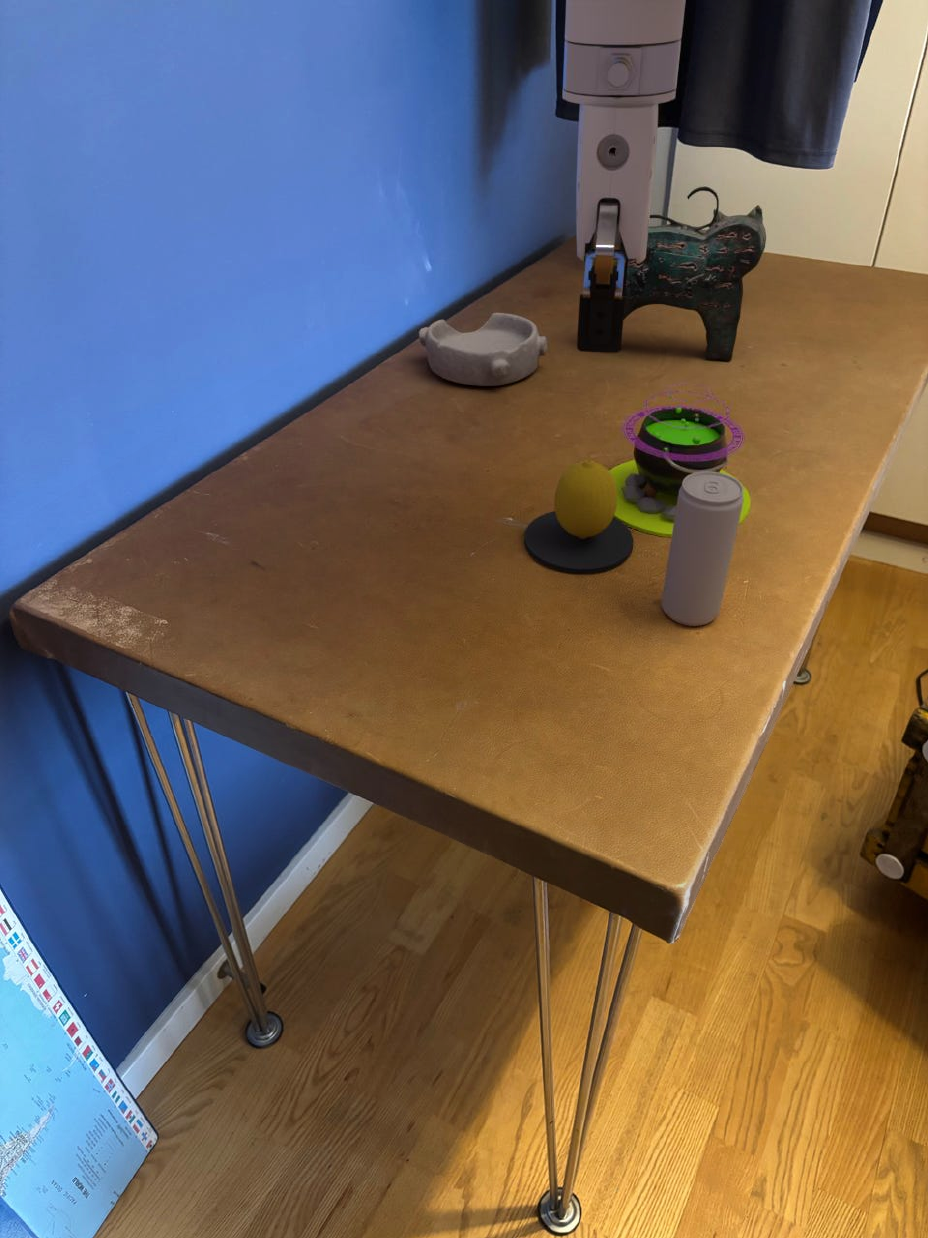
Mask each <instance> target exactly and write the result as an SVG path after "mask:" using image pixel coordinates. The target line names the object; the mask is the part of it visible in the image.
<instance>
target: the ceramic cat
mask: <svg viewBox="0 0 928 1238" xmlns="http://www.w3.org/2000/svg"><path fill="white" fill-rule="evenodd" d="M699 192H709V193H710V194H712V195H713V196H714V198H715V199H716V208H714V209H713V212H712V213H713V217H712V220H711V221H710V222H709V223H707V224H703V225H700V226H692V225H690V224H687V223H682V222H680V221H676V220H674V219H672V218H670V217H668V216H664V215H662V214H655V213H654V214H650V219H659V220H664V221H666V222H668V223H667V224H666V223H665V224H660V225H654V226H650V225H649V229H648V239H647V249H646V258H645V259H644V260H643V261H642V262H641V263H636V259H628V266H627V278H626V289H625V307H624V319H623V321H625V319H627V317H629V315H631V314H632V313H633V312H635V311H636V310H638V309H641V308H643V307H646V306H650V305H651V306H652V305H663V306H669V307H672V308H678V309H683V310H688V311H694V312H696V313H697V314H698V315H699V317H700V319H701V322H702V324H703V326H704V330H705V341H706V348H705V360H706V361H707V360H708V361H715V360H719V361H726V362H730V361H732V357H733V353H734V348H735V344H736V340H737V335H738V334H737V333H738V327H739V323H740V319H741V314H742V313H741V312H742V305H743V304H742V303H743V296H744V282H743V278H744V277H745V276H746V275H748V274H749V273H751V272H752V270H754V269H755V268H756V267H757V266H758V264H759V263H760V260H761V258H762V255H763V254H764V251H765V248H766V242H767V232H766V227H765V226H764V223H763V221H764V217H763V209H762V208H761V207H760V205H758V204H757V205H756V206H755V207H754V208H753V209H752V210H751V211H750V212H749V213H748V214H735V215H726V214H725V213H723V212H722V211H721V210H719V208H720V199H719V194H718V193H717V192H716V191H715V190H714V189H713V188H711V187H709V186H698V187H696V188H694V189H693V190H692V191H690V192H689V193H688V195H687V196H686V198H687V200H690V198H691V197H692V196H693V195H695V194H697V193H699ZM706 228H707V229H706ZM625 254H626V253H625ZM626 255H627V254H626Z"/></svg>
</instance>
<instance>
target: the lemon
mask: <svg viewBox="0 0 928 1238" xmlns="http://www.w3.org/2000/svg"><path fill="white" fill-rule="evenodd" d="M556 485H557V486H556V489H555V493H554V499H553V501H554V503H553V504H554V511H555V512H556V517H557V519H558V521H559V523H560V524H561V526H562V527H563V528H564V529H565V530H566V531H567V532H568V533H570V534H572V535H574V536H578V537H579V538H580V539H585V538H587V537H591V536H595V535H597V534H599V533H601V532H602V531H603V530H605V529H606V528H607V527H608V525H609V524H610V523H611V521H612V519H613V516H614V514H615V511H616V506H617V491H616V485H615V481H614V479H613V477H612V475H611V473H610V472H609V469H608V468H607V467H605V466H604V465H602V464H601V463H599V462H596V461H593V459H585V460H582V461H578V462H575V463H574V464H572V465H570V466H568V467H567V468H566V469H565V471H563V473H562V474H561V476H560V477H559V480H558V483H557V484H556Z"/></svg>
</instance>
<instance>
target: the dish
mask: <svg viewBox="0 0 928 1238" xmlns="http://www.w3.org/2000/svg"><path fill="white" fill-rule="evenodd" d="M418 337H419V338H418V339H419V342H420V345H421V346H423V347H425V350H426V356H427V361H428V365H429V367H430V369H431V371H432V372H433V373H434V374H435V375H437V376H439V378H442V379H444V380H447V381H449V382H453V383H456V384H462V385H468V386H469V385H470V386H478V387H479V386H481V387H494V386H503V385H508V384H512V383H515V382H518V381H520V380H523V379H525V378H526V377H528V376H530V375H531V374H532V373H534V372H535V371H536V370H537V368H538V366H539V363H540V357H541V356H542V357H543V356H545V355H546V354H547V350H548V340H547V336H545V335H542V336H540V333H539V330H538V327H537V325H536V324H535V323H534V322H532V321H531V320H529V319H527V318H526V317H522V316H519V315H516V314H511V313H504V312H493V313H492V314H491V315H490V317H489V318H488V319H487V321H486V322H485V323H484V324H483V325H482V326H481V327H480V328H478V329H476V330H474V331H469V332H461V331H460V332H459V331H458V330H456V329H454V328H453V327H451V325H449V324H448V323H447V321H446V320H445V319H439V320H436V321H434V322H432V323H431V324H430V325H429V326H425V327H422V328H420V330H419V331H418Z"/></svg>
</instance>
